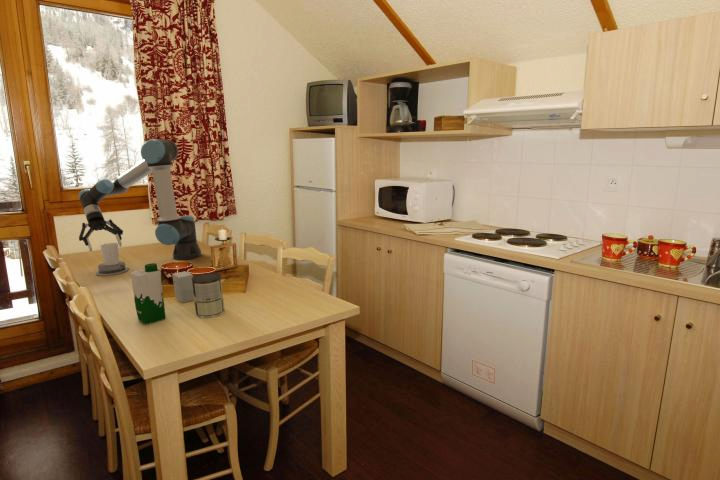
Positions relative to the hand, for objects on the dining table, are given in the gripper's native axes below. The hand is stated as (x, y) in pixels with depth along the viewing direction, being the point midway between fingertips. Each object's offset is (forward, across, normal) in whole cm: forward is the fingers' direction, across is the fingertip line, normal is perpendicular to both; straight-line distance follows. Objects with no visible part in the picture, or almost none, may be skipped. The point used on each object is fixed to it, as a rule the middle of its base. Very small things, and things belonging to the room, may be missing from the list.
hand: (106, 247), depth 230 cm
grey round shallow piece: (+12, 0, -5) cm, 13 cm away
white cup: (+9, -1, -3) cm, 9 cm away
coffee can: (+77, -9, +61) cm, 98 cm away
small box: (+61, -9, +44) cm, 76 cm away
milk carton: (+70, +8, +54) cm, 89 cm away
